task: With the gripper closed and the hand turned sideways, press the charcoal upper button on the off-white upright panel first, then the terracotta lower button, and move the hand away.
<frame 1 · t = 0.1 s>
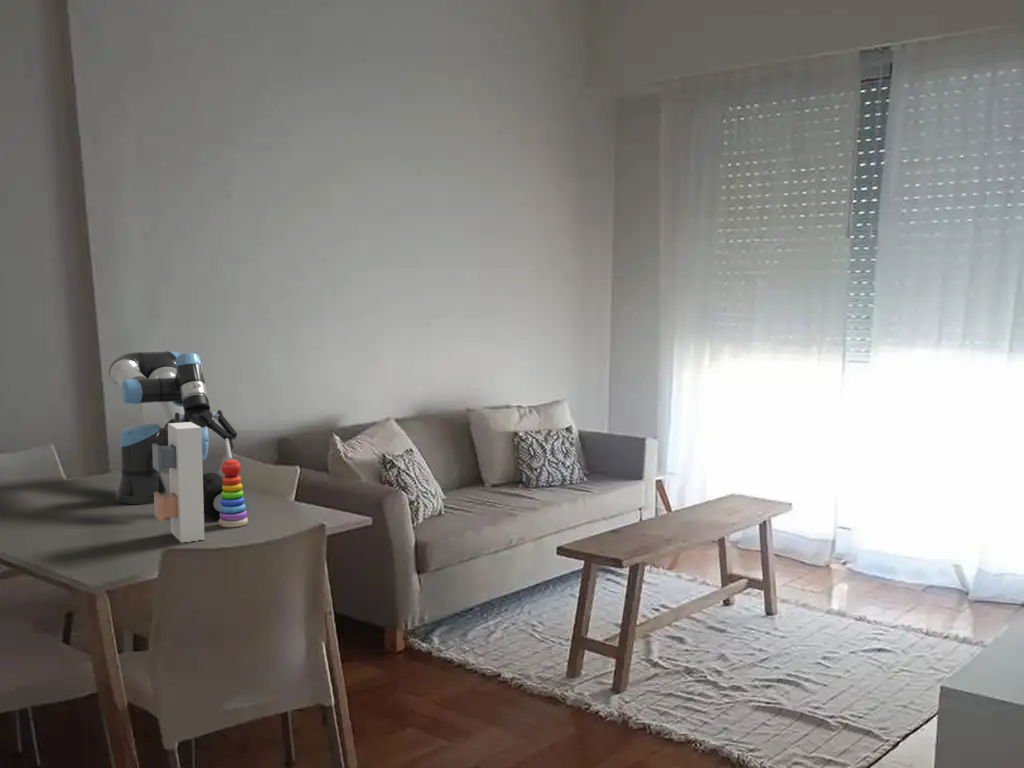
hand: (206, 461, 272), 15 cm above the table, tool tilted 35°, fingers open, 13 cm apart
lower button: (170, 505, 244), point 9 cm above the table, slide at 0.0 cm
upper button: (169, 456, 243), point 22 cm above the table, slide at 0.0 cm
button panel: (187, 536, 247), on the table
stacking toy: (233, 525, 260), on the table
portable speaker: (216, 512, 276), on the table
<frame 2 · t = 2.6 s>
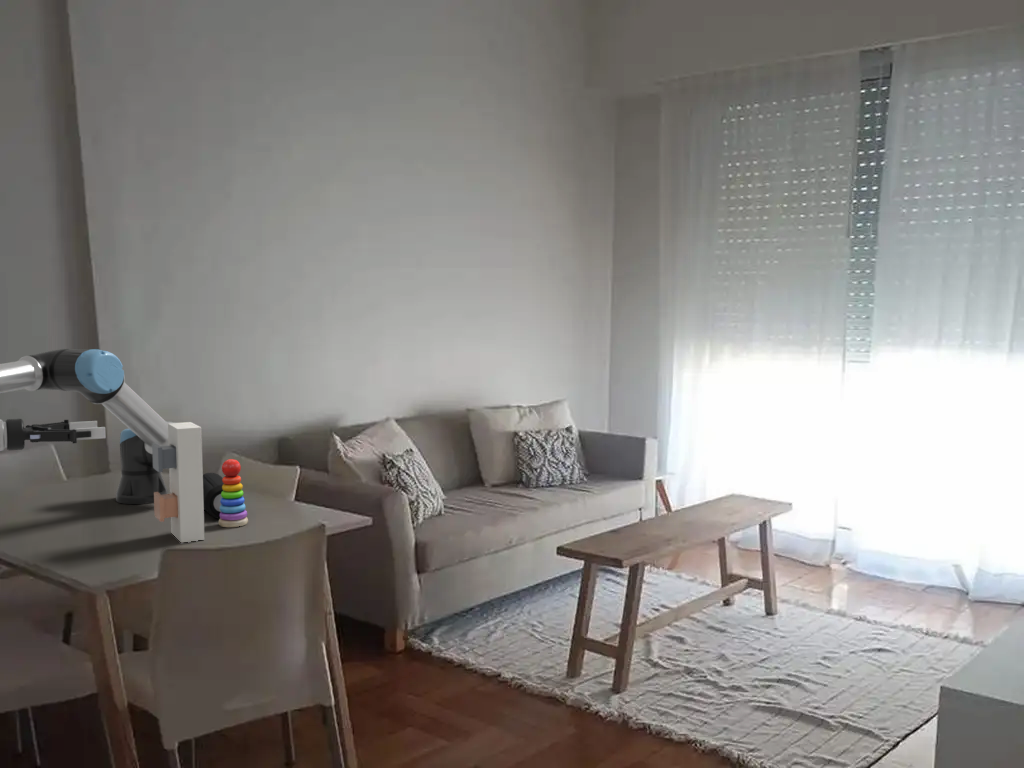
hand: (101, 429, 233), 30 cm above the table, tool horizontal, fingers open, 13 cm apart
nothing on the table moved.
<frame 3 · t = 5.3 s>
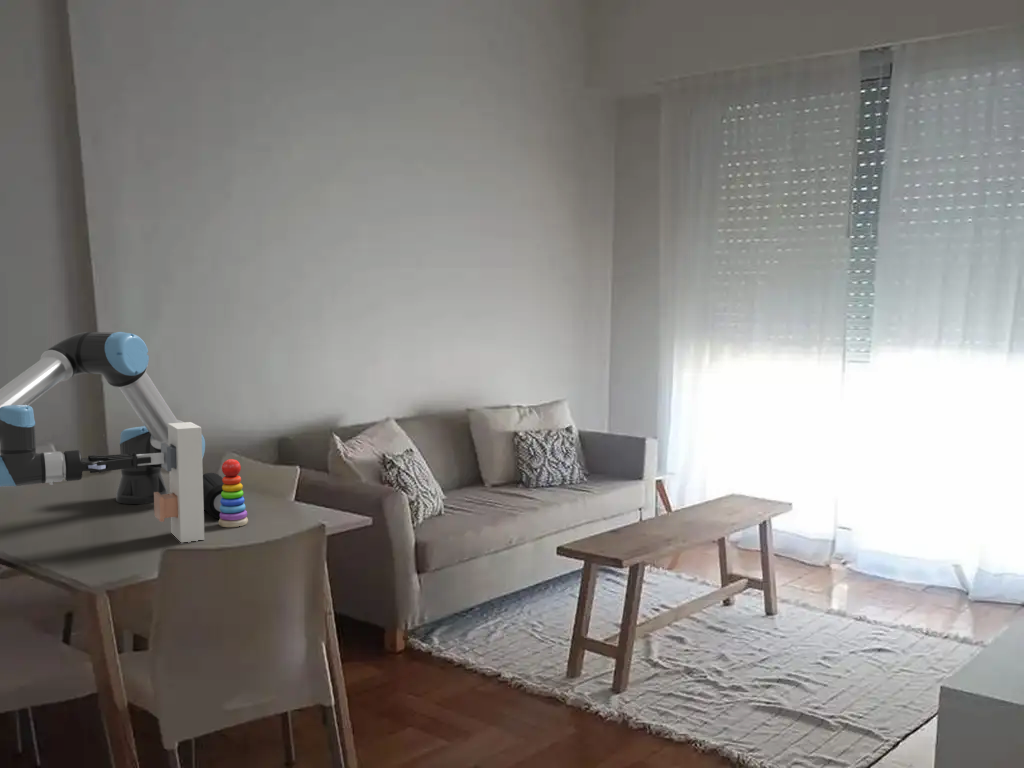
hand: (163, 458, 241), 22 cm above the table, tool horizontal, fingers closed
upper button: (178, 455, 244), point 22 cm above the table, slide at 2.2 cm, touching gripper
everything else where it was.
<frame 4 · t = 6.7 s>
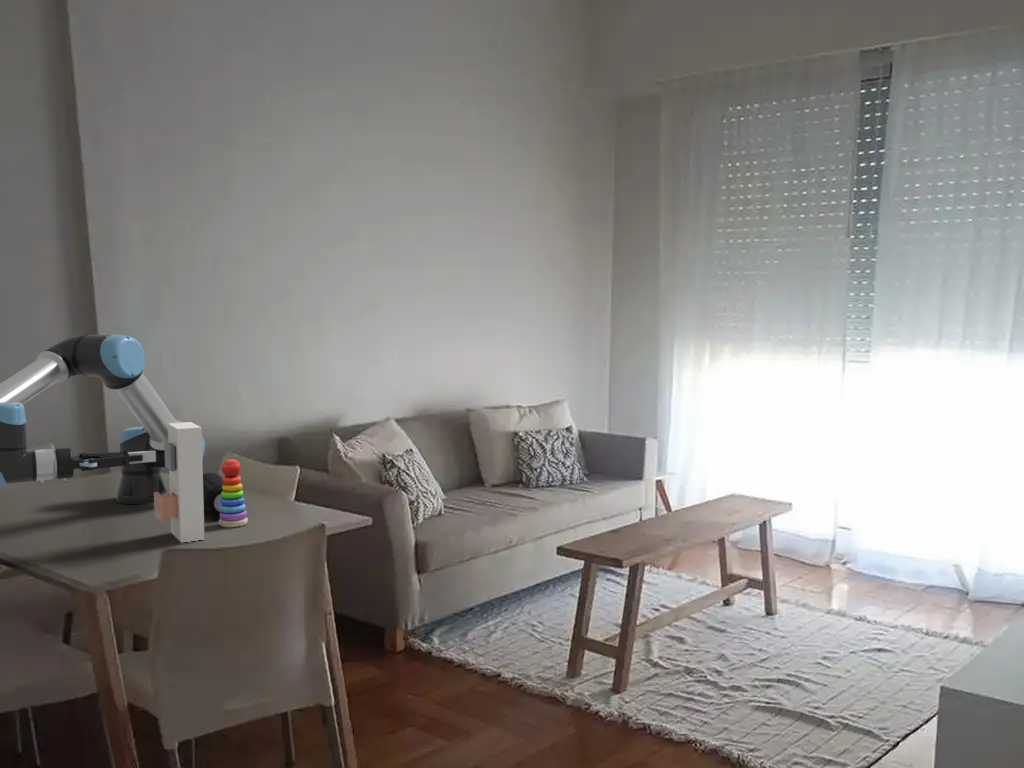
hand: (155, 456, 241), 22 cm above the table, tool horizontal, fingers closed
upper button: (181, 455, 244), point 22 cm above the table, slide at 3.1 cm
everything else where it was.
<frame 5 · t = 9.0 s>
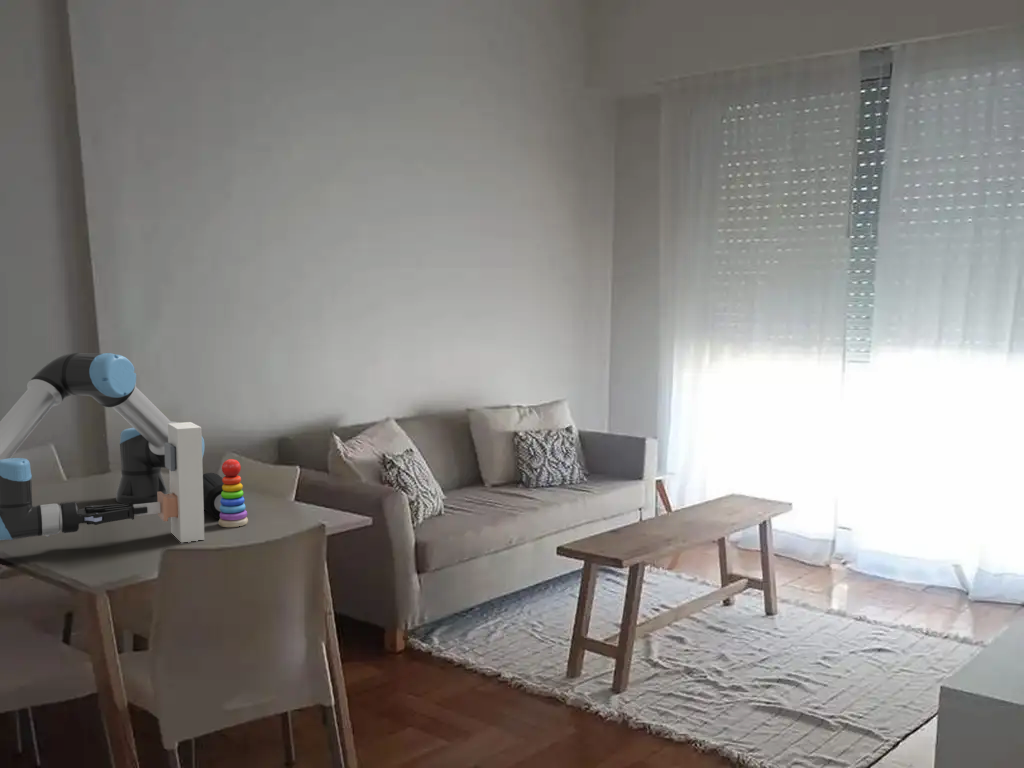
hand: (159, 507, 242), 9 cm above the table, tool horizontal, fingers closed
lower button: (174, 504, 244), point 9 cm above the table, slide at 0.9 cm, touching gripper
everything else where it was.
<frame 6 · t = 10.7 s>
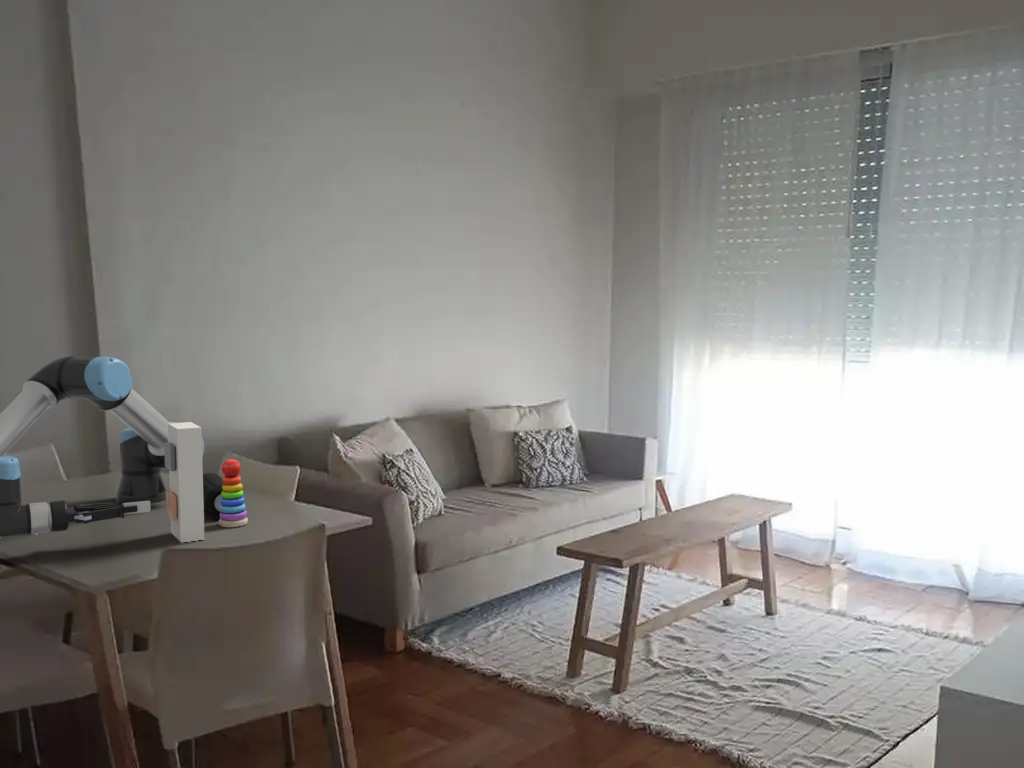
hand: (149, 506, 241), 9 cm above the table, tool horizontal, fingers closed
lower button: (182, 504, 245), point 9 cm above the table, slide at 3.1 cm
everything else where it was.
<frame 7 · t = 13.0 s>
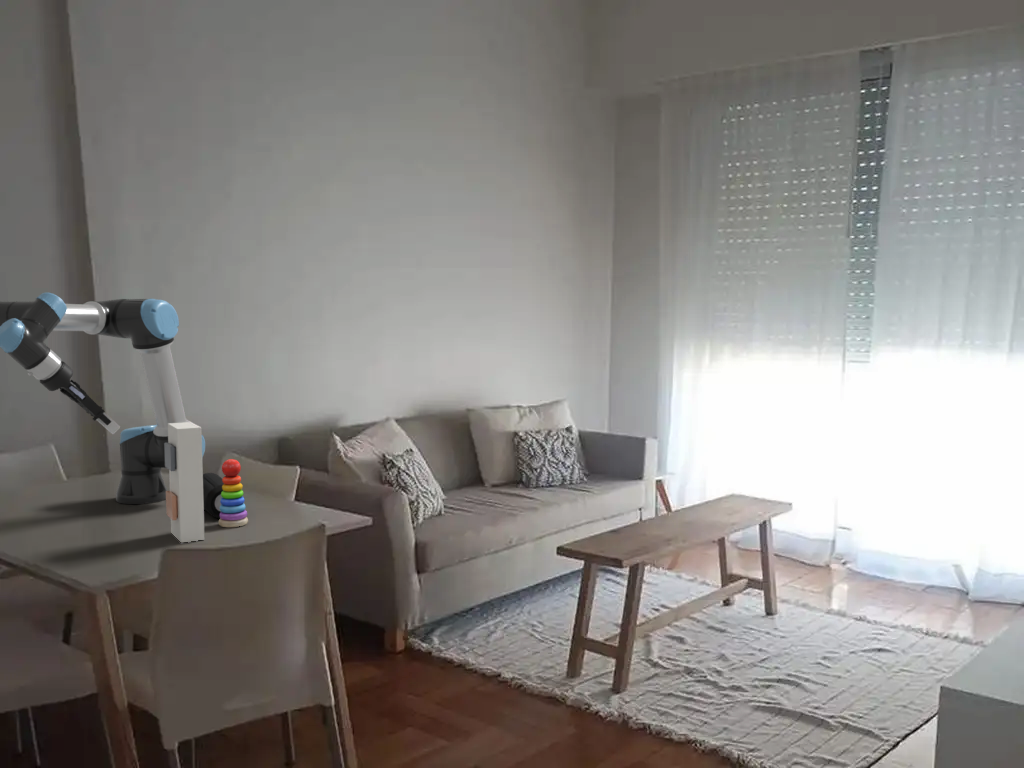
hand: (115, 430, 247), 28 cm above the table, tool tilted 45°, fingers closed
nothing on the table moved.
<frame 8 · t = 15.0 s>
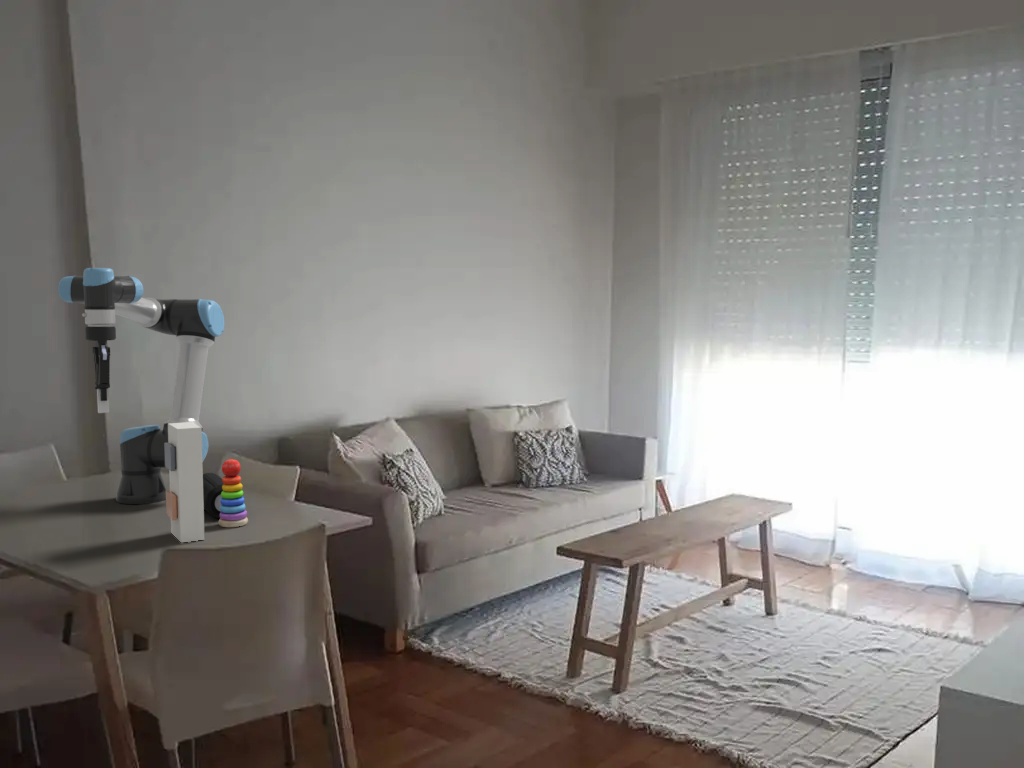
hand: (103, 412, 251), 32 cm above the table, tool pointing down, fingers closed
nothing on the table moved.
at the end: upper button slide at 3.1 cm; lower button slide at 3.1 cm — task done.
